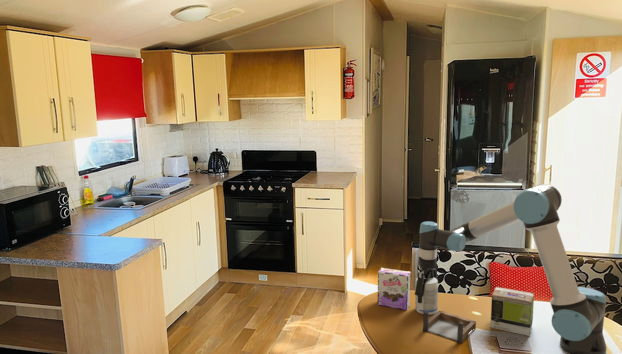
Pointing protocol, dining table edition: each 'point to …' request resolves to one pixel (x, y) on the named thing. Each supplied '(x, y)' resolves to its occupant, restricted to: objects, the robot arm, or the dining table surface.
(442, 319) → the keeper cradle
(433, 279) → the supplement tub
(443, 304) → the dining table surface
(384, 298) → the candy box
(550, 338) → the dining table surface
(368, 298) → the dining table surface
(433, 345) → the dining table surface
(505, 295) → the tea box
